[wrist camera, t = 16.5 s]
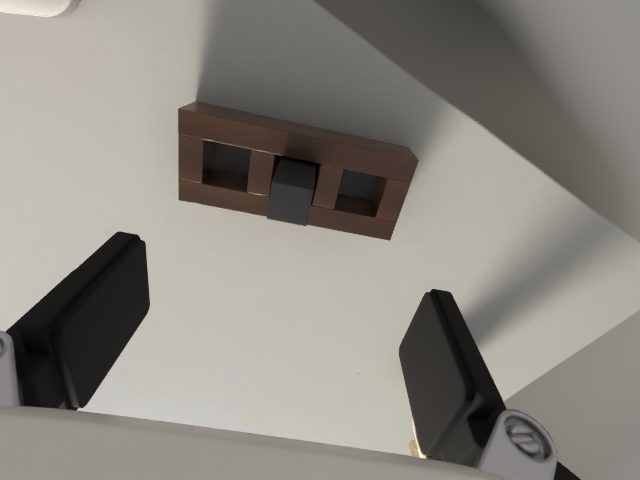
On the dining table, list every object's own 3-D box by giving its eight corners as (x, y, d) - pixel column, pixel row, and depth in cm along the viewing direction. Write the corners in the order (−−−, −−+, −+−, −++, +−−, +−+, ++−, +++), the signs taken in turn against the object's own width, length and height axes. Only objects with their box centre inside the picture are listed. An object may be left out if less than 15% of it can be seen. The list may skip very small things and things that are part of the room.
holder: (195, 101, 29) (178, 108, 26) (408, 147, 31) (419, 160, 27) (193, 184, 33) (178, 200, 30) (383, 221, 35) (390, 240, 31)
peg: (285, 147, 31) (271, 181, 23) (316, 154, 31) (314, 189, 24) (280, 177, 33) (266, 218, 25) (310, 184, 33) (306, 226, 25)
